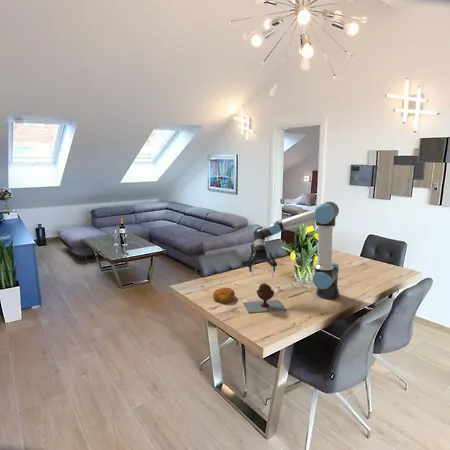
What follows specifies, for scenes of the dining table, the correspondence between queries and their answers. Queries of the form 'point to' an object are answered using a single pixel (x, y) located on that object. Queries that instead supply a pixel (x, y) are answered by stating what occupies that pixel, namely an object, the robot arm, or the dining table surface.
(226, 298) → the orange-brown rounded lump
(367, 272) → the dining table surface
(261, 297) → the ice cream bowl
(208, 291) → the dining table surface
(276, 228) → the robot arm
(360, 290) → the dining table surface
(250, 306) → the placemat
